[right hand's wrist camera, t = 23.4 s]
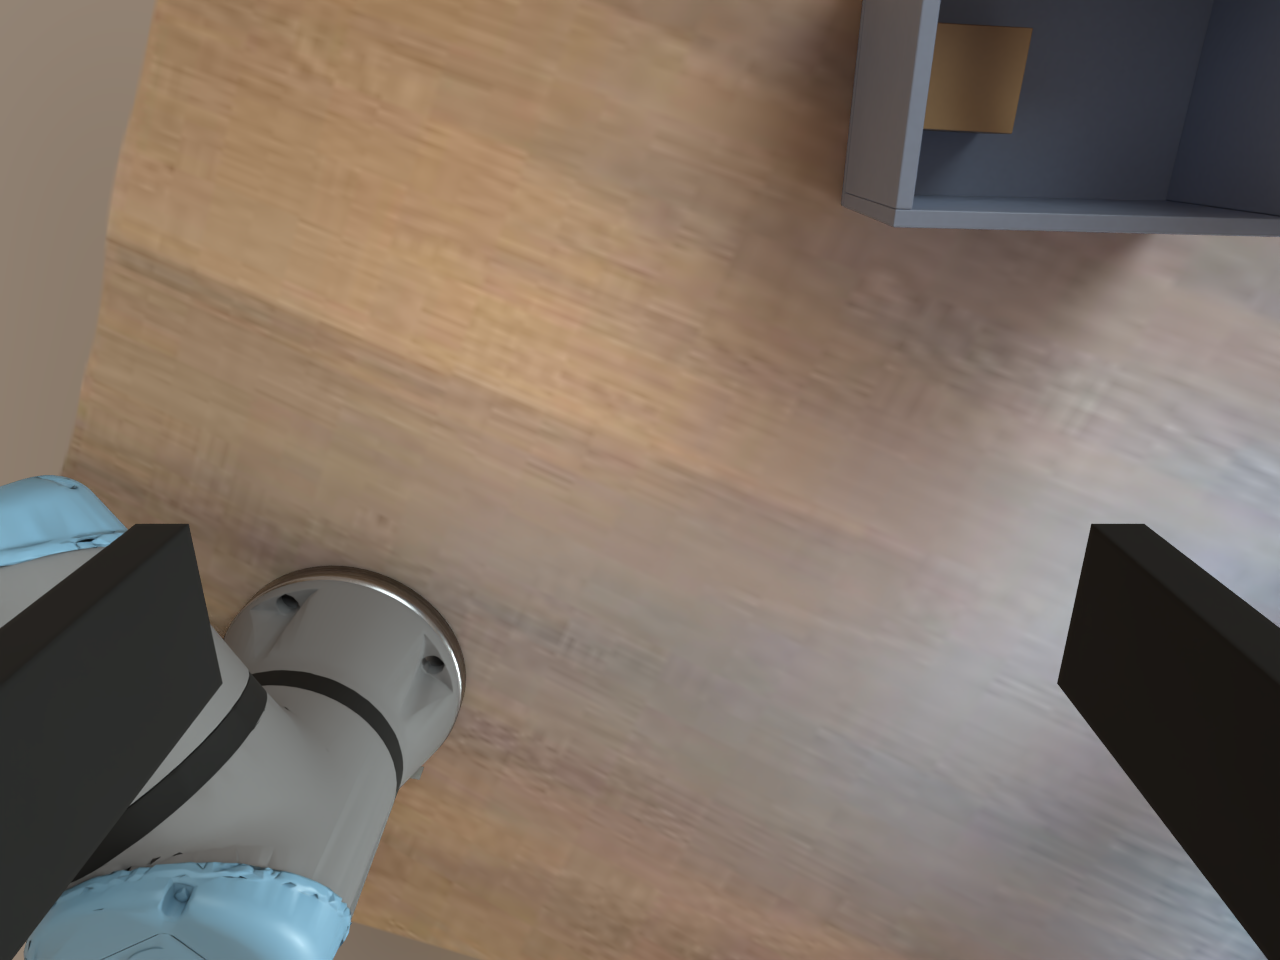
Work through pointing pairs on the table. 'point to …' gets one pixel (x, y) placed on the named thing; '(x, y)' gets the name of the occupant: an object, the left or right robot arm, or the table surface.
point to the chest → (1078, 120)
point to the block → (976, 78)
